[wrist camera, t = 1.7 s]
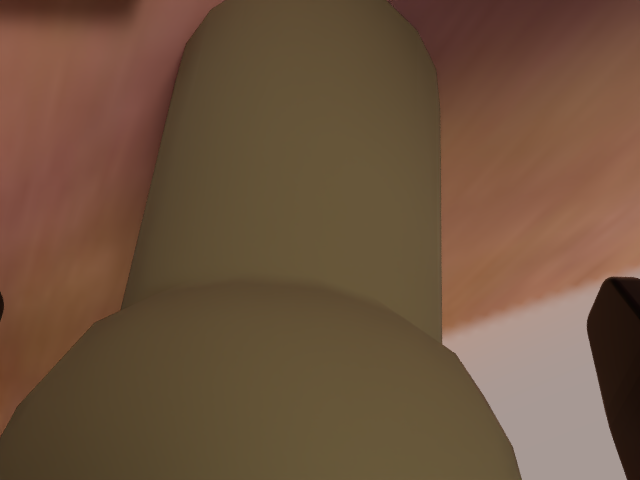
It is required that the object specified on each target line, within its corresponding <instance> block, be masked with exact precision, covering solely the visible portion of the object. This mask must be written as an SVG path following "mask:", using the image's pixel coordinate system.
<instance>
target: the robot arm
mask: <svg viewBox="0 0 640 480" xmlns="http://www.w3.org/2000/svg"><path fill="white" fill-rule="evenodd" d="M3 310H4V301H3V297H2V294H1V292H0V320H1V318H2V314H3ZM587 332H588V338H589V341H590V346H591V351H592V355H593V360H594V364H595V368H596V372H597V377H598V382H599V386H600V391H601V395H602V399H603V404H604V408H605V412H606V416H607V420H608V424H609V428H610V431H611V434H612V437H613V440H614V443H615V446H616V449H617V452H618V455H619V458H620V460H621V463H622V466H623V469H624V472H625V475H626V478H627V480H640V279H638V278H634V277H609V278H607V279H606V280H605V281H604V282H603V284H602V285H601V288H600V290H599V292H598V295H597V297H596V299H595V302H594V304H593V306H592V309H591V311H590V313H589V316H588V320H587Z"/></svg>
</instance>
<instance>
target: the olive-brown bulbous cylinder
mask: <svg viewBox="0 0 640 480" xmlns="http://www.w3.org/2000/svg"><path fill="white" fill-rule="evenodd" d="M0 480H522V478H521V475H520V472H519V468H518V464H517V460H516V457H515V453H514V450H513V447H512V445H511V443H510V441H509V439H508V438H507V436H506V434H505V433H504V430H503V429H502V427H501V425H500V423H499V422H498V420H497V418H496V416H495V415H494V413H493V411H492V410H491V408H490V406H489V404H488V402H487V401H486V399H485V397H484V395H483V394H482V392H481V391H480V389H479V388H478V387H477V385H476V384H475V382H474V380H473V379H472V378H471V376H470V374H469V373H468V372H467V370H466V368H465V367H464V365H463V364H462V362H460V360H459V358H458V356H457V355H456V354H455V353H454V352H452V351H451V350H449V349H448V348H447V347H445V346H444V345H442V271H441V146H440V102H439V93H438V83H437V74H436V68H435V66H434V64H433V62H432V60H431V58H430V56H429V54H428V52H427V50H426V48H425V46H424V43H423V41H422V39H421V37H420V35H419V33H418V31H417V30H416V29H415V28H414V27H413V26H412V25H411V24H410V23H409V22H408V21H407V20H406V19H405V18H404V17H403V16H402V15H401V14H400V13H399V12H398V11H397V10H396V9H395V8H394V7H393V6H392V5H391V4H390V3H389V2H388V1H387V0H225V1H224V2H222V3H220V4H219V5H217V6H216V7H214V8H213V9H211V10H210V12H209V13H208V15H207V16H206V17H205V19H204V20H203V21H202V23H201V24H200V25H199V27H198V28H197V30H196V31H195V32H194V34H193V35H192V36H191V38H190V39H189V41H188V42H187V43H186V46H185V49H184V53H183V56H182V60H181V63H180V67H179V70H178V74H177V77H176V81H175V85H174V89H173V93H172V97H171V102H170V106H169V110H168V114H167V118H166V122H165V127H164V131H163V135H162V139H161V143H160V148H159V152H158V156H157V160H156V164H155V168H154V173H153V177H152V181H151V185H150V189H149V193H148V198H147V202H146V206H145V210H144V214H143V219H142V223H141V227H140V231H139V235H138V239H137V244H136V248H135V252H134V256H133V260H132V265H131V269H130V273H129V277H128V281H127V285H126V290H125V294H124V298H123V302H122V306H121V310H120V311H119V312H117V313H115V314H112V315H110V316H108V317H106V318H104V319H102V320H99V321H97V322H95V323H94V324H93V325H92V326H91V327H90V328H89V329H88V330H87V332H86V333H85V334H84V335H83V336H82V337H81V338H80V339H79V340H78V341H77V342H76V343H75V345H74V346H73V347H72V348H71V349H70V350H69V351H68V352H67V353H66V354H65V355H64V356H63V358H62V359H61V360H60V361H59V362H58V363H57V364H56V365H55V366H54V367H53V368H52V370H51V371H50V372H49V373H48V374H47V375H46V376H45V377H44V378H43V379H42V380H41V381H40V383H39V384H38V385H37V386H36V387H35V388H34V389H33V390H32V391H31V392H30V393H29V394H28V396H27V397H26V398H25V399H24V400H23V401H22V402H21V403H20V404H19V405H18V407H17V408H16V410H15V412H14V414H13V416H12V417H11V419H10V421H9V423H8V425H7V426H6V428H5V430H4V432H3V434H2V435H1V437H0Z"/></svg>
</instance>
